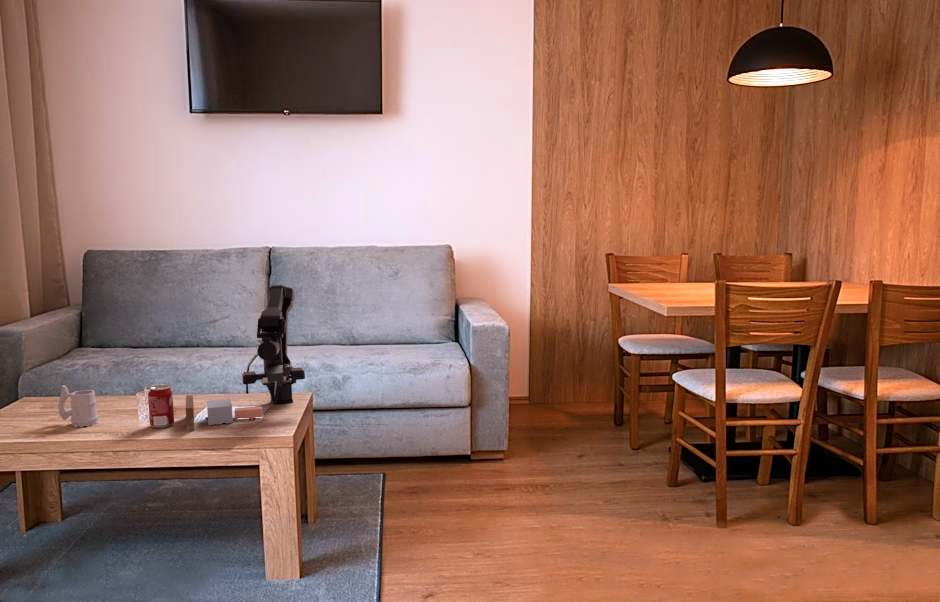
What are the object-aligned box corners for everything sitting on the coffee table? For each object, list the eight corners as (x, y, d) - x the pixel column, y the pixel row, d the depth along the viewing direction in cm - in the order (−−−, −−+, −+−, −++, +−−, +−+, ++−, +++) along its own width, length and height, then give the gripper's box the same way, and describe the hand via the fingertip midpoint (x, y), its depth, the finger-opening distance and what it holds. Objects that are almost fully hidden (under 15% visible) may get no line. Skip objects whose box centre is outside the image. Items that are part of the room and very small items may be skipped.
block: (231, 414, 228) (230, 398, 228) (232, 422, 220) (231, 405, 219) (207, 417, 226) (206, 400, 225) (208, 425, 217) (207, 408, 217)
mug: (90, 427, 217) (87, 388, 215) (52, 427, 217) (48, 388, 216) (104, 420, 224) (101, 382, 223) (67, 420, 225) (64, 382, 223)
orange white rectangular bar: (262, 416, 228) (261, 406, 228) (262, 418, 225) (261, 408, 225) (235, 418, 226) (235, 408, 226) (235, 420, 223) (234, 410, 223)
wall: (194, 416, 228) (192, 394, 227) (194, 430, 213) (192, 407, 212) (187, 417, 227) (186, 395, 226) (186, 431, 212) (185, 408, 211)
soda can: (169, 429, 215) (166, 389, 213) (146, 429, 215) (143, 389, 213) (177, 422, 221) (175, 384, 220) (155, 422, 221) (153, 384, 220)
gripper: (243, 361, 216) (245, 412, 218) (306, 356, 222) (308, 405, 224) (240, 354, 226) (243, 402, 228) (301, 349, 232) (303, 397, 234)
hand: (274, 402), depth 228 cm, fingers closed
